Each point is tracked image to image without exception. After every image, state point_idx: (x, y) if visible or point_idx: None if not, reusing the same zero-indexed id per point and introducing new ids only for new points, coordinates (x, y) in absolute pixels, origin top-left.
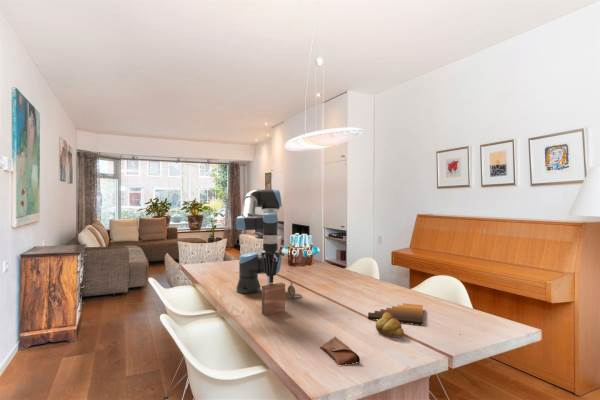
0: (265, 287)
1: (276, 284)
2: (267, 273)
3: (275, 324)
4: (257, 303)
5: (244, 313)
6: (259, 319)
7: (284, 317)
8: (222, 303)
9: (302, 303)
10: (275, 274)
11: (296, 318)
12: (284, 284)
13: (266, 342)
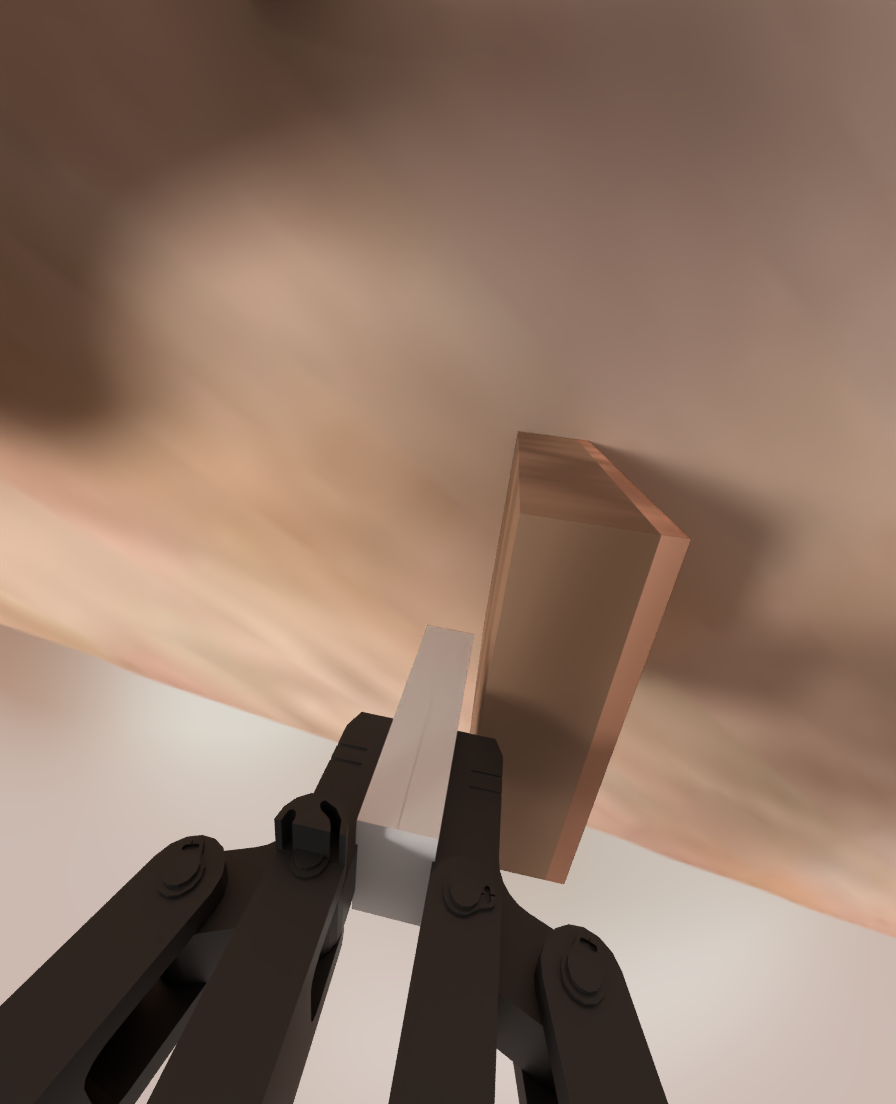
0: (560, 882)
1: (564, 687)
2: (329, 982)
3: (749, 716)
4: (237, 484)
5: (394, 698)
6: None
7: (712, 576)
8: (110, 660)
9: (568, 27)
10: (614, 983)
11: (837, 523)
12: (680, 557)
13: (885, 904)
